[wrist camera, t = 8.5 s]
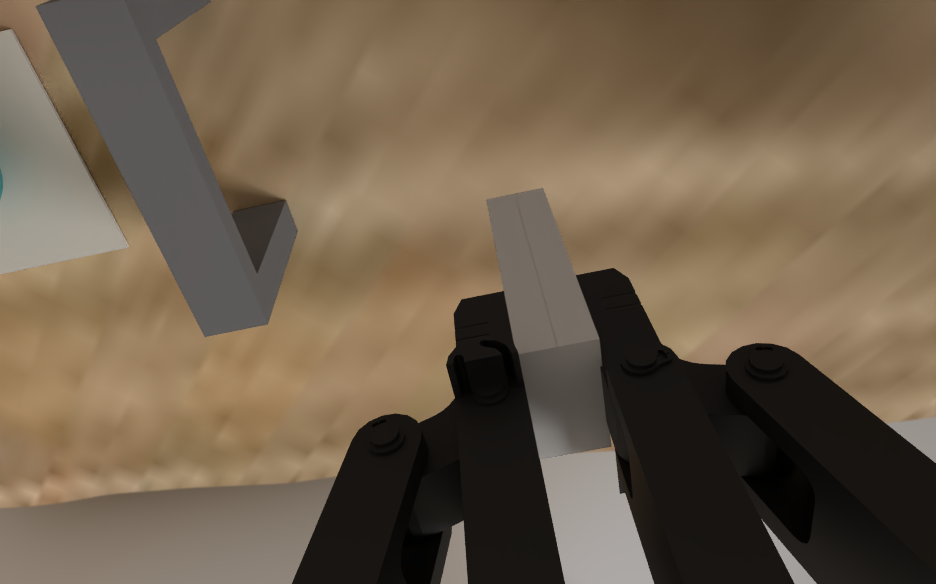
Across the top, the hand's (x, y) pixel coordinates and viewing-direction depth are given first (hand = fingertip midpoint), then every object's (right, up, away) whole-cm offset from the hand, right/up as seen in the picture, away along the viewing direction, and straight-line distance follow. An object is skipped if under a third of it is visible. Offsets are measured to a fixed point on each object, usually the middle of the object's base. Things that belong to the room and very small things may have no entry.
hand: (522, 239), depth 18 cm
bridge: (-14, +8, +17) cm, 23 cm away
